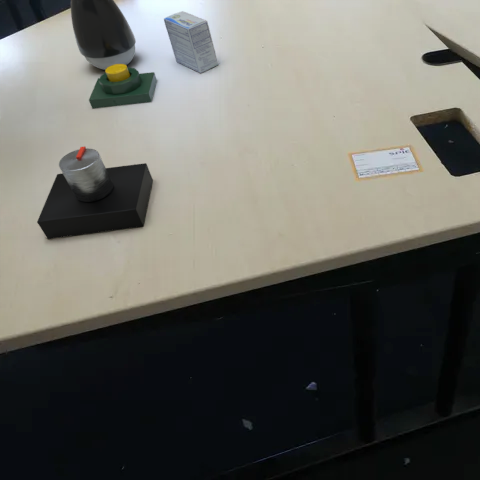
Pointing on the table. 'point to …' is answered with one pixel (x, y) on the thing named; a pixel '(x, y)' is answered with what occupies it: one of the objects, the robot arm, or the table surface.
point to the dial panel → (98, 205)
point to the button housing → (123, 90)
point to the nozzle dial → (86, 174)
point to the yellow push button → (117, 72)
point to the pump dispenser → (102, 32)
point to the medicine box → (191, 41)
